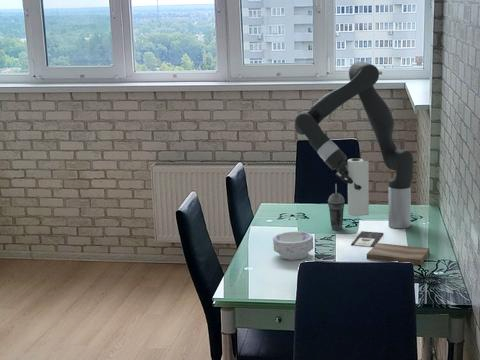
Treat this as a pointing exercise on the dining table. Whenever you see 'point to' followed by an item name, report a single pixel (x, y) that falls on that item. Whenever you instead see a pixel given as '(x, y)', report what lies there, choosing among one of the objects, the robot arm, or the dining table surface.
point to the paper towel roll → (359, 176)
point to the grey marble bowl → (293, 244)
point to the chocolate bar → (367, 239)
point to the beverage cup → (336, 210)
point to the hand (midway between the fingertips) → (361, 188)
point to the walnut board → (398, 253)
